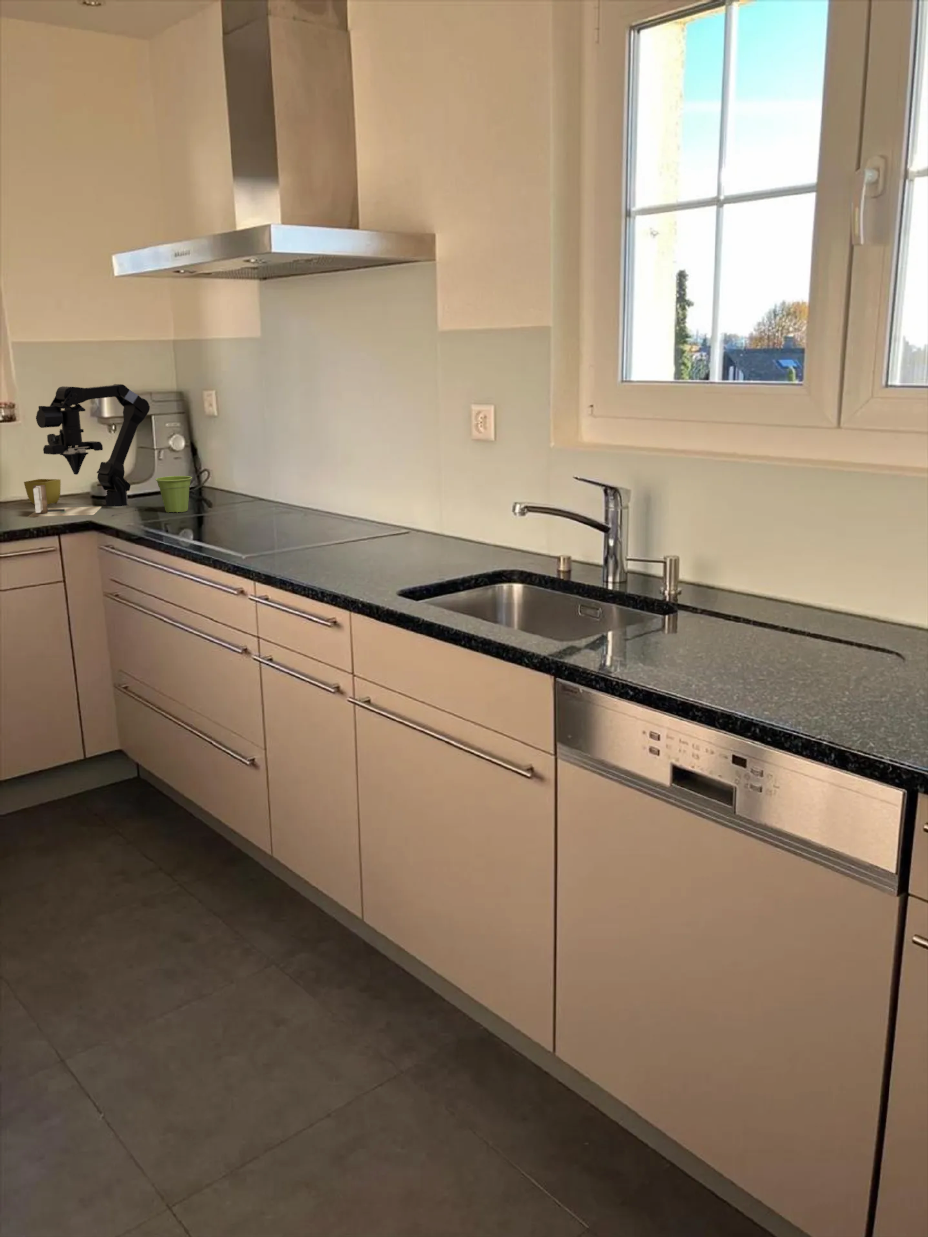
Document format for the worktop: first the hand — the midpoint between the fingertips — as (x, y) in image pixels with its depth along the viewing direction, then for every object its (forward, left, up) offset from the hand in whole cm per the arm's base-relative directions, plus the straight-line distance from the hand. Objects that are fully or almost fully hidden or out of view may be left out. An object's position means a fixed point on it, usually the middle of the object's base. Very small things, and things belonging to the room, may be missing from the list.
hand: (76, 474), depth 333 cm
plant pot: (-31, +2, -13) cm, 34 cm away
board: (+4, +2, -13) cm, 14 cm away
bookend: (+8, +8, -12) cm, 16 cm away
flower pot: (+15, -21, -13) cm, 29 cm away
